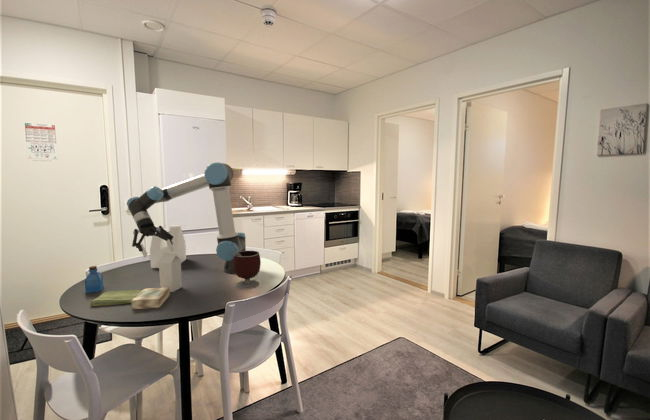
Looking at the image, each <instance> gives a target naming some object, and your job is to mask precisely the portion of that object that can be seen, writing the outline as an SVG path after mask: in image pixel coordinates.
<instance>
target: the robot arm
mask: <svg viewBox="0 0 650 420" xmlns="http://www.w3.org/2000/svg"><path fill="white" fill-rule="evenodd" d="M233 178H234V171H233V168H232V166H230V165H229V164H227V163H223V162H213V163H209V164H208V165H207V166H206V168H205V169H204V173H203V174H200V175H197V176H195V177H191V178H189V179H186V180H184V181H181V182H178V183H175V184H171V185H169V186H165V187H163V188H160V187H159V186H157V185H155V186H151V187H150V188H148V189H147V190H146V191H145V192H144V193H142V194H141V195H140V196H132V197H130V198H128V200H126V206H127V209H128V210H129V213H130V214H131V216H132V219H133V220H134V222H135V224H136V226H137V228H135V229H133V239H132V244H131V246H132V247H133V248H136V249H138V252H141V254H142V256H143V258H146V257H147V256H148V252H147V250H146V248H145V246H144V244H143V243H142V242H143V240H144V238H145V237H146V238H148V237H152V236H153V235H154V236H157V237H159V238H161V239H163V240H165V241H167V242H166V243H167V245H168V247H169V249H170V251H171V252H173V250H174V248H173V246H172V245H173V243H172V241H171V240H172V239H173V236H172V235H171V234H169V232H168V231H167V229H166V230H164V229H163V228H162V226H163V225H158V226H159V227H155V226H156V225H155V223H154V221H153V220H152V217H151V215H150V213H149V212H148V209H149V208H151V207H152V206H154V205H155V204H159V203H163V202H164V203H165V202H169V201H171V200H172V199H176V198H178V197H179V198H180V197H182V196H185V195H187V194H190V193H193V192H196V191H198V190H202V189H204V188H207V187H208V188H209V190H211V191H212V196H213V202H214V209H215V215H216V222H217V229H218V235H217V236H216V242H217V246H216V247H215V250H216V251H215V252H216V256H217V257H218V258H219V259H221V260H222V261H224V265H223V272H224V273H227V274H235V272H234V267H233V259H234V254H235V253H233V252H231V251H235V252H240V251H247V248H246V234H245V232H236V228H235V221H234V215H233V208H232V202H231V195H230V188H231V187H232V179H233ZM155 232H156V234H155ZM139 233H140V234H141V237H140V239H139V240H138V235H139ZM137 240H138V241H137Z"/></svg>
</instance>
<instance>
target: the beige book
mask: <svg viewBox="0 0 650 420" xmlns="http://www.w3.org/2000/svg"><path fill="white" fill-rule="evenodd" d="M170 295H171V292H170V291H169V287H164V288H160V287H149V288H143V290H141V292H140V293H139V294H138V295H137V296H136V297H135V298H134V299H132V300H131V302H132V303H131V309H132V310H142V309H155V308H156V309H157V308H160V307H161V306H162V305H163V304H164V303H165V301H166V300H167V299H168V298H169V297H170Z"/></svg>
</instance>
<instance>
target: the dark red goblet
mask: <svg viewBox="0 0 650 420" xmlns="http://www.w3.org/2000/svg"><path fill="white" fill-rule="evenodd" d="M231 252H233V253H235V254H234V259H233V267H234V272H235V273H234V274H235V276H237V278H240V279H244V280H241V281H238V282H236V283H235V288H236V289H238V290H252V289H255V288H257V287H259V286H260V281H258V280H255V279H252V278H254V277H256V276H257V275H258V274H259V273H260V269H261V263H262V262H261V255H260V252H259V251H257V250H246V251H240V252H235V251H231Z"/></svg>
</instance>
